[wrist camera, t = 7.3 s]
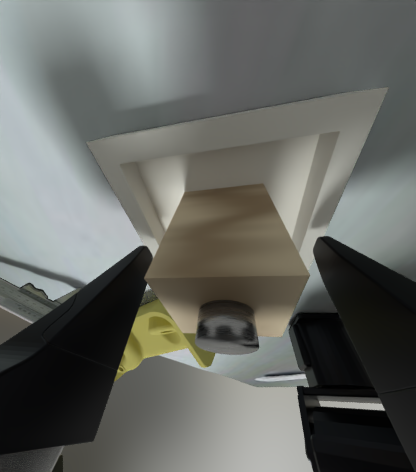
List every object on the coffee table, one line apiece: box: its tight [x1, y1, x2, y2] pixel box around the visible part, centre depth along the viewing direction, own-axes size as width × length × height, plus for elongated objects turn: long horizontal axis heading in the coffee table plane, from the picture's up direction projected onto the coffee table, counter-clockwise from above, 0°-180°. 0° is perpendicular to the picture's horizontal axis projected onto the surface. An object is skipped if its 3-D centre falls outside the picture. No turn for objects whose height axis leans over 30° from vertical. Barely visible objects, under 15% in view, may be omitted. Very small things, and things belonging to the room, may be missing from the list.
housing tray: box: [86, 87, 389, 271], centre depth 10 cm, size 11×11×2 cm
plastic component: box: [114, 299, 215, 381], centre depth 23 cm, size 20×7×10 cm
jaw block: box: [144, 183, 310, 355], centre depth 7 cm, size 4×4×7 cm
